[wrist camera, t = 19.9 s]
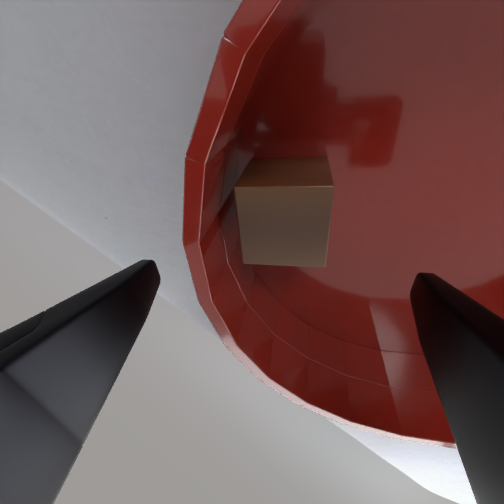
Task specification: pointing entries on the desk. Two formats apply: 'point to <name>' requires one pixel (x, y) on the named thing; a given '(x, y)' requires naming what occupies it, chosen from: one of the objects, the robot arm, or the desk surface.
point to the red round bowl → (354, 194)
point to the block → (285, 211)
